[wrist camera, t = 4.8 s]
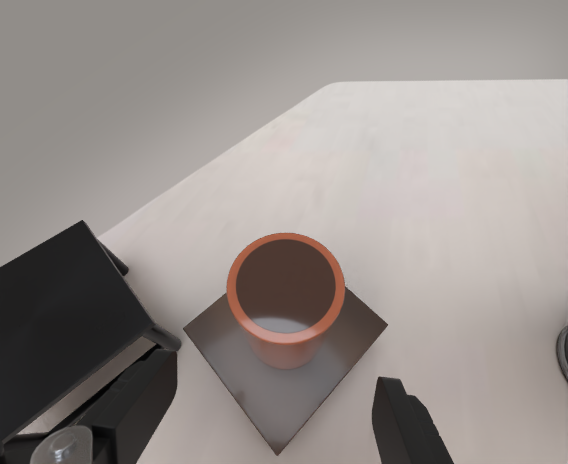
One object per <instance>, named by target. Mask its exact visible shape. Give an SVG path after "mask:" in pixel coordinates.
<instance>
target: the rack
mask: <svg viewBox="0 0 568 464" xmlns="http://www.w3.org/2000/svg"><path fill="white" fill-rule="evenodd" d="M127 272H128V267H127V266H126V265H125V264H124V263H123V262H122V261H121V260H119V259H118V258H117V257H116V256H115V255H114V254H113V253H112V252H111V251H110V250H109V249H108V248H106V247H105V246H104V245H103V244H102V243H101V242H100V241H99V240H98V239H97V238H96V237H95V236H94V234H93V233H92V231H91V230H90V228H89V227H88V225H87V224H86V223H85V222H84V221H83V220H81V221H80V222H78V223H76V224H74V225H73V226H71V227H69V228H68V229H66V230H64V231H62V232H61V233H59V234H57V235H55V236H54V237H52V238H50V239H49V240H47V241H45V242H43V243H42V244H40V245H38V246H36V247H35V248H33V249H31V250H30V251H28V252H26V253H24V254H22V255H21V256H19V257H17V258H15V259H14V260H12V261H10V262H8V263H7V264H5V265H3V266H2V267H0V440H1V441H2V443H3V448H4V452H5V451H11V450H18V449H24V448H30V447H36V446H38V445H39V444H40V443H41V442H42V441H43V440H44V439H45V438H47V437H48V436H50V435H51V434H53V433H54V432H56V431H58V430H60V429H63V428H65V427H69V426H72V425H73V424H74V423H75V422H76V421H78V420H79V419H80V418H81V417H83V416H84V415H85V414H86V413H87V412H88V411H89V410H90V409H91V408H92V407H93V406H94V404H95V403H96V402H97V401H98V400H99V399H100V398H101V397H102V396H103V395H104V393H105V392H106V391H108V390H109V388H110V387H111V386H112V385H113V384H114V383H115V382H117V379H118V378H119V377H120V376H121V375H122V374H123V373H124V372H125V370H126V369H128V368H129V367H131V366H132V365H134V364H136V363H137V362H139V361H146V360H147V359H148V358H149V356H150V355H151V354H152V353H153V352H154V351H155V350H156V349H164V348H165V349H167V350H171V351H177V350H179V348H180V347H181V341H180V340H179V339H178V338H176V337H175V336H174V335H172V334H171V333H169V332H168V331H166V330H165V329H164V328H162V327H161V326H159V325H158V324H156V323H155V322H154V321H153V319H152V318H151V316H150V315H149V313H148V312H147V310H146V309H145V308H144V306H143V305H142V303H141V302H140V300H139V299H138V298H137V296H136V295H135V293H134V292H133V290H132V289H131V287H130V286H129V285H128V283H127V282H126V280H125V279H124V277H123V276H124V275H125V274H127ZM141 336H143V337H145V338H147V339H149V340H151V341H152V342H154V343H156V345H155V346H153V347H152V348H151V349H150V350H148V351H147V352H146V353H145V354H144V355H142V356H141V357H140V358H139V359H137V360H136V361H135V362H134V363H132V364H131V365H130V366H129V367H128V368H126V369H125V370H124V371H123V372H121V373H120V374H119V375H118V376H117V377H115V378H114V379H113V380H112V381H110V382H109V383H108V384H107V385H106V386H104V387H103V388H102V389H101V390H99V391H98V392H97V393H96V394H95V395H93V396H92V397H91V398H90V399H88V400H87V401H86V402H85V403H83V404H82V405H81V406H80V407H79V408H77V409H76V410H75V411H74V412H72V413H71V414H70V415H69V416H68V417H66V418H65V419H64V420H63V421H61V422H60V423H59V424H58V425H57V426H55V427H54V428H53V429H52V430H50V431H49V432H44V433H31V434H18V433H19V432H20V431H21V430H23V429H24V428H25V427H26V426H28V425H29V424H30V423H32V422H33V421H34V420H35V419H37V418H38V417H39V416H40V415H42V414H43V413H44V412H46V411H47V410H48V409H49V408H51V407H52V406H53V405H54V404H56V403H57V402H58V401H59V400H61V399H62V398H63V397H65V396H66V395H67V394H68V393H70V392H71V391H72V390H73V389H75V388H76V387H77V386H79V385H80V384H81V383H82V382H84V381H85V380H86V379H87V378H89V377H90V376H91V375H92V374H94V373H95V372H96V371H98V370H99V369H100V368H101V367H103V366H104V365H105V364H106V363H108V362H109V361H110V360H112V359H113V358H114V357H115V356H117V355H118V354H119V353H120V352H122V351H123V350H124V349H126V348H127V347H128V346H129V345H131V344H132V343H133V342H134V341H136V340H137V339H138V338H139V337H141ZM16 434H18V435H16Z"/></svg>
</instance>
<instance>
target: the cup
mask: <svg viewBox="0 0 568 464" xmlns="http://www.w3.org/2000/svg"><path fill="white" fill-rule="evenodd" d="M344 296H345V282H344V276H343V273H342V270H341V268H340V266H339V264H338V262H337V260H336V259H335V257H334V256H333V255H332V254H331V252H330V251H329V250H328V249H327V248H326V247H324V246H323V245H322V244H320V243H319V242H317V241H315V240H314V239H311V238H309V237H307V236H304V235H300V234H295V233H277V234H272V235H268V236H265V237H262V238H260V239H258V240H256V241H254V242H253V243H251V244H250V245H248V246H247V247H246V248H245V249H244V250H243V251H242V252H241V253H240V254H239V255H238V257H237V258H236V260H235V261H234V263H233V265H232V267H231V269H230V272H229V275H228V279H227V299H228V303H229V306H230V309H231V311H232V313H233V315H234V317H235V319H236V321H237V323H238V325H239V326H240V328H241V330H242V332H243V334H244V336H245V338H246V340H247V341H248V343H249V345H250V347H251V349H252V351H253V352H254V354H255V355H256V356H257V357H258V358H259V359H260V360H261V361H262V362H264V363H265V364H267V365H269V366H271V367H273V368H277V369H284V370H287V369H295V368H298V367H301V366H303V365H305V364H307V363H308V362H310V361H311V360H312V359H313V358H314V357H315V356H316V355H317V353H318V352H319V350H320V349H321V347H322V345H323V343H324V341H325V339H326V337H327V335H328V334H329V332H330V330H331V328H332V326H333V324H334V322H335V320H336V318H337V317H338V315H339V313H340V310H341V308H342V305H343V301H344Z"/></svg>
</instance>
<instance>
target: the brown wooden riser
mask: <svg viewBox="0 0 568 464" xmlns="http://www.w3.org/2000/svg"><path fill="white" fill-rule="evenodd" d="M387 326H388V324H387V323H386V322H385V321H384V320H382V319H381V318H380V317H379V316H378V315H377V314H376V313H375V312H373V311H372V310H371V309H370V308H369V307H368V306H367V305H366V304H364V303H363V302H362V301H361V300H360V299H359V298H358V297H357V296H355V295H354V294H353V293H352V292H351V291H350V290H349V289H348V288H346V287H345V296H344V301H343V305H342V308H341V310H340V313H339V315H338V317H337V318H336V320H335V322H334V324H333V326H332V328H331V330H330V332H329V334H328V335H327V337H326V339H325V341H324V343H323V345H322V347H321V349H320V350H319V352H318V353H317V355H316V356H315V357H314V358H313V359H312V360H311V361H310V362H308V363H307V364H305V365H303V366H301V367H298V368H295V369H287V370H284V369H277V368H273V367H271V366H269V365H267V364H265V363H264V362H262V361H261V360H260V359H259V358H258V357H257V356H256V355H255V354H254V352H253V351H252V349H251V347H250V345H249V343H248V341H247V340H246V338H245V336H244V334H243V332H242V330H241V328H240V326H239V325H238V323H237V321H236V319H235V317H234V315H233V313H232V311H231V309H230V306H229V303H228V299H227V293H225V294H224V295H223V296H222V297H221V298H219V299H218V300H217V301H216V302H214V303H213V304H212V305H211V306H210V307H208V308H207V309H206V310H205V311H204V312H202V313H201V314H200V315H199V316H198V317H196V318H195V319H194V320H193V321H191V322H190V323H189V324H188V325H187V326H185V327H184V328H183V329H184V331H185V332H186V334H187V335H188V336H189V338H190V339H191V340H192V342H193V343H194V344H195V346H196V347H197V348H198V350H199V351H200V352H201V354H202V355H203V357H204V358H205V359H206V361H207V362H208V363H209V365H210V366H211V367H212V369H213V370H214V371H215V373H216V374H217V376H218V377H219V378H220V380H221V381H222V382H223V384H224V385H225V386H226V388H227V389H228V390H229V392H230V393H231V395H232V396H233V397H234V399H235V400H236V401H237V403H238V404H239V405H240V407H241V408H242V409H243V411H244V412H245V414H246V415H247V416H248V418H249V419H250V420H251V422H252V423H253V424H254V426H255V427H256V428H257V430H258V431H259V433H260V434H261V435H262V437H263V438H264V439H265V441H266V442H267V443H268V445H269V446H270V447H271V449H272V450H273V451H274V453H275V454H276V456H278V455H279V454H280V453H281V452H282V450H283V449H284V448H285V447H286V446H287V444H288V443H289V442H290V441H291V440H292V439H293V437H294V436H295V435H296V434H297V433H298V431H299V430H300V429H301V428H302V427H303V426H304V424H305V423H306V422H307V421H308V420H309V418H310V417H311V416H312V415H313V414H314V412H315V411H316V410H317V409H318V408H319V407H320V405H321V404H322V403H323V402H324V401H325V399H326V398H327V397H328V396H329V395H330V394H331V392H332V391H333V390H334V389H335V388H336V386H337V385H338V384H339V383H340V382H341V380H342V379H343V378H344V377H345V376H346V375H347V373H348V372H349V371H350V370H351V369H352V367H353V366H354V365H355V364H356V363H357V362H358V360H359V359H360V358H361V357H362V356H363V354H364V353H365V352H366V351H367V350H368V348H369V347H370V346H371V345H372V344H373V343H374V341H375V340H376V339H377V338H378V337H379V335H380V334H381V333H382V332H383V331H384V330H385V328H386V327H387Z"/></svg>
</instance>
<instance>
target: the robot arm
mask: <svg viewBox="0 0 568 464" xmlns="http://www.w3.org/2000/svg"><path fill="white" fill-rule="evenodd" d="M557 351H558V358H559V362H560V365H561V368H562V370H563V373H564V375H565V377H566V379H567V381H568V326H566V327H565V328H564V329H563V331H562V332H561V334H560V336H559V339H558V346H557ZM176 390H177V353H176V351H171V350H163V349H156V350H155V351H154V352H153V353H152V354H151V355H150V356H149V358H148V359H147V360H146V361H139V362H137V363H136V364H134V365H132V366H131V367H129V368H128V369H126V370H125V372H124V373H123V374H122V375H121V376H120V377H119V378H118V379H117V382H115V383H114V384H113V385H112V386H111V387H110V388H109V390H108V391H106V392H105V393H104V395H103V396H102V397H101V398H100V399H99V400H98V401H97V402H96V403H95V404H94V406H93V407H92V408H91V409H90V410H89V411H88V412H87V413H86V414H85V415H84V417H83V418H82V419H81V420H80V421H79V422H78V423H77V424H76V425H74V426H69V427H65V428H63V429H60V430H58V431H56V432H54V433H53V434H51V435H50V436H48V437H47V438H45V439H44V440H43V441H42V442H41V443H40V444H39V445H38V446H36V447H30V448H24V449H18V450H11V451H5V452H4V448H3V443H2V441H1V440H0V464H136V463H137V461H138V459H139V457H140V456H141V454H142V452H143V451H144V449H145V447H146V446H147V444H148V442H149V440H150V439H151V437H152V435H153V434H154V432H155V430H156V429H157V427H158V425H159V423H160V422H161V420H162V418H163V417H164V415H165V413H166V411H167V410H168V408H169V406H170V405H171V403H172V401H173V399H174V397H175V394H176ZM372 425H373V430H374V434H375V438H376V442H377V446H378V450H379V454H380V458H381V462H382V464H454V463H453V461H452V459H451V457H450V455H449V453H448V451H447V449H446V447H445V445H444V443H443V441H442V439H441V437H440V436H439V433H438V430H437V428H436V426H435V424H433V420H432V418H431V416H430V414H429V412H428V410H427V408H426V407H425V406H424V405H423V404H422V403H421V402H420V401H419V400H418V399H417V398H416V396H412V395H407V394H406V391H405V389H404V387H403V385H402V382H401V380H400V379H396V378H387V377H378V380H377V385H376V390H375V396H374V402H373V408H372Z"/></svg>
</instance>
